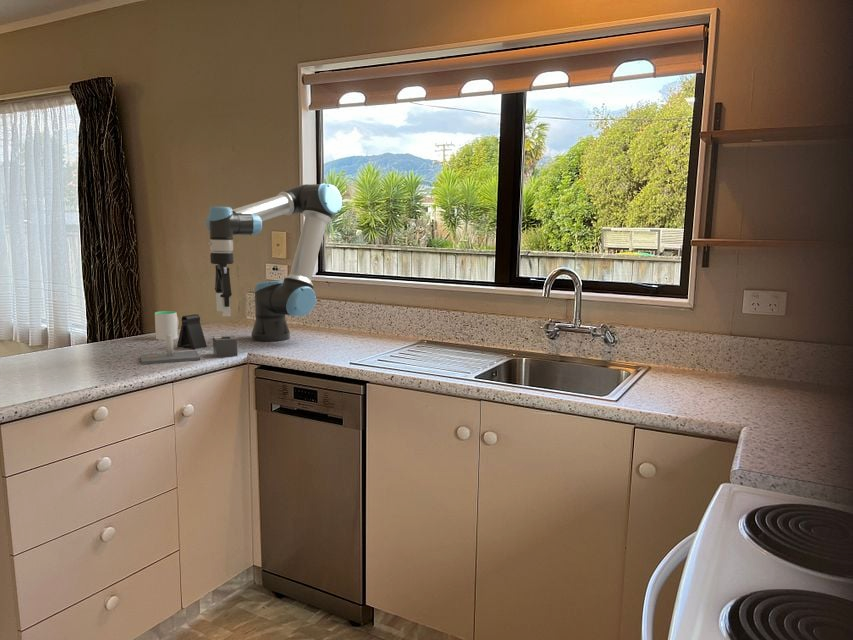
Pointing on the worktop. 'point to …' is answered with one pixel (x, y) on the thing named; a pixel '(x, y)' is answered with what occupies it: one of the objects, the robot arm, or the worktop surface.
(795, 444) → the worktop surface
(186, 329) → the phone stand
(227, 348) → the gray square frame
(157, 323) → the mug
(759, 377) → the worktop surface
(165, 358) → the panel
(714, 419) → the worktop surface
